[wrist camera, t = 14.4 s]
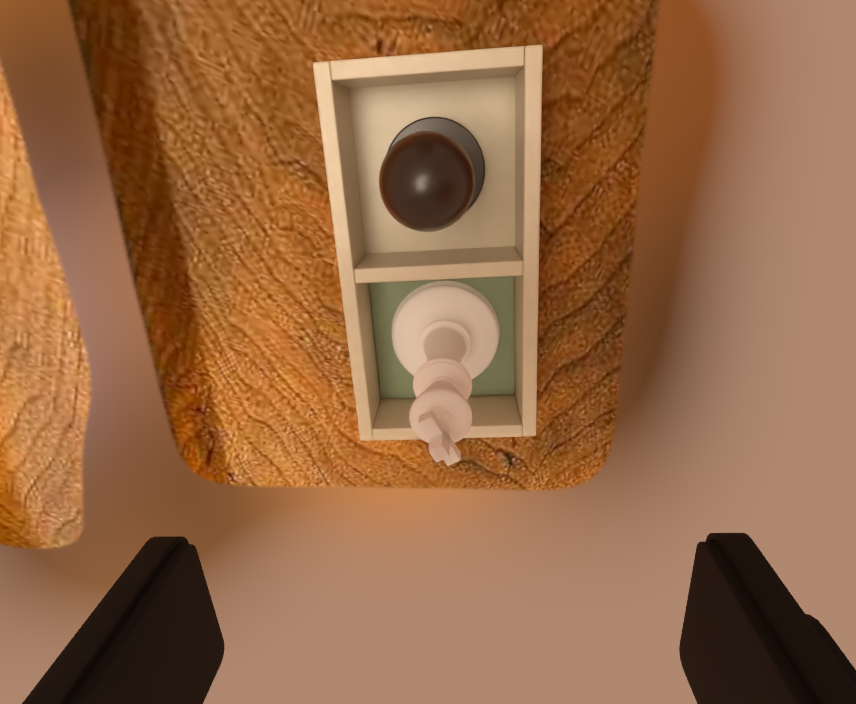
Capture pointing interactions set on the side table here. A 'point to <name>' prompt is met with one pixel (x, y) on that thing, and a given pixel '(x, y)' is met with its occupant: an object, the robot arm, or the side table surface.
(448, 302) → the chess piece
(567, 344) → the side table surface
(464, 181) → the pawn
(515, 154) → the rack
